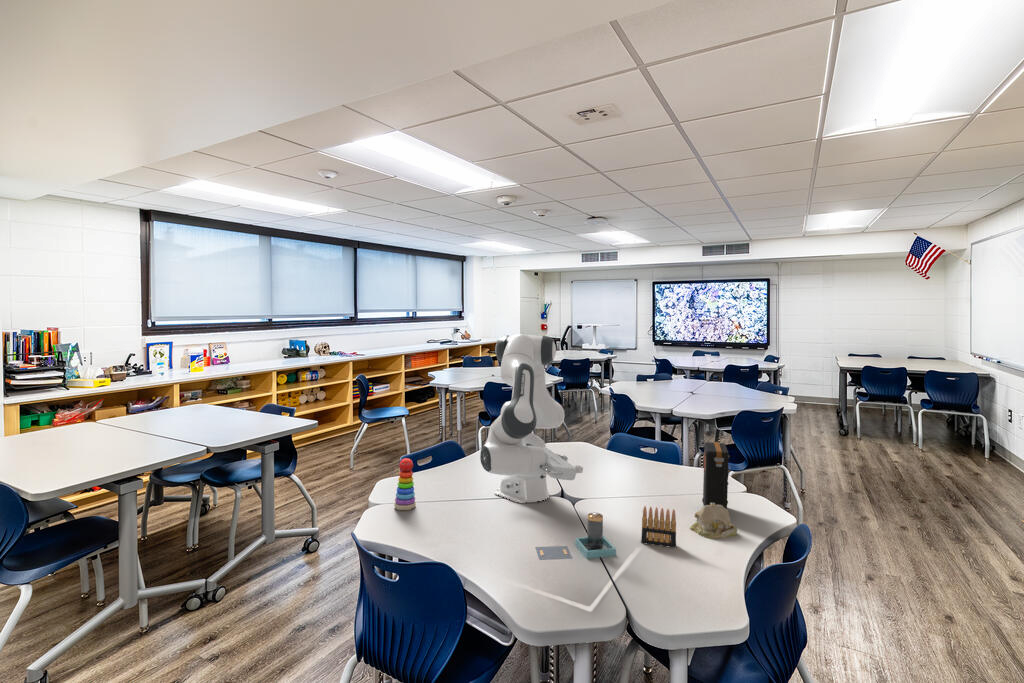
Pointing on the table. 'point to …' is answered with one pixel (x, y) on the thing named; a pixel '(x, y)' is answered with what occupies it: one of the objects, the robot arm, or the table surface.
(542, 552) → the checker cradle
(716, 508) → the ceramic model
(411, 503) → the stacking toy
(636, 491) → the table surface
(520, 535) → the table surface
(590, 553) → the teal square frame
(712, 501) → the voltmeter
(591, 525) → the cell
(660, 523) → the ammunition clip
